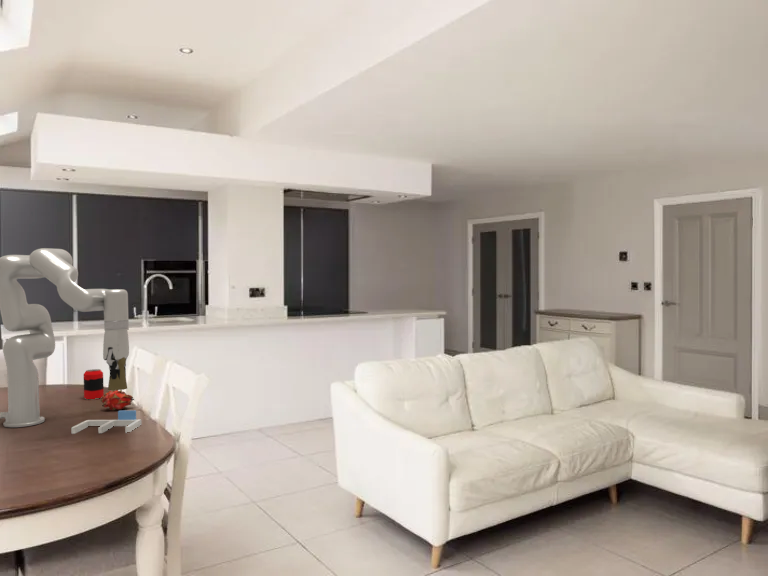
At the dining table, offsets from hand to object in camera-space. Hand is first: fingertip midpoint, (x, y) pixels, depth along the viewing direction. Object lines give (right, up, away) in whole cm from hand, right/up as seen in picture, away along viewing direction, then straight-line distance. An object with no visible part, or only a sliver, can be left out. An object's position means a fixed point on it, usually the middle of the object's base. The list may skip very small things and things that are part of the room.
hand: (117, 379), depth 204 cm
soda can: (-34, -16, +54) cm, 66 cm away
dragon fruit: (-14, -17, +32) cm, 39 cm away
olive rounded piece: (0, -3, 0) cm, 3 cm away
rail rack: (-4, -17, +1) cm, 18 cm away
